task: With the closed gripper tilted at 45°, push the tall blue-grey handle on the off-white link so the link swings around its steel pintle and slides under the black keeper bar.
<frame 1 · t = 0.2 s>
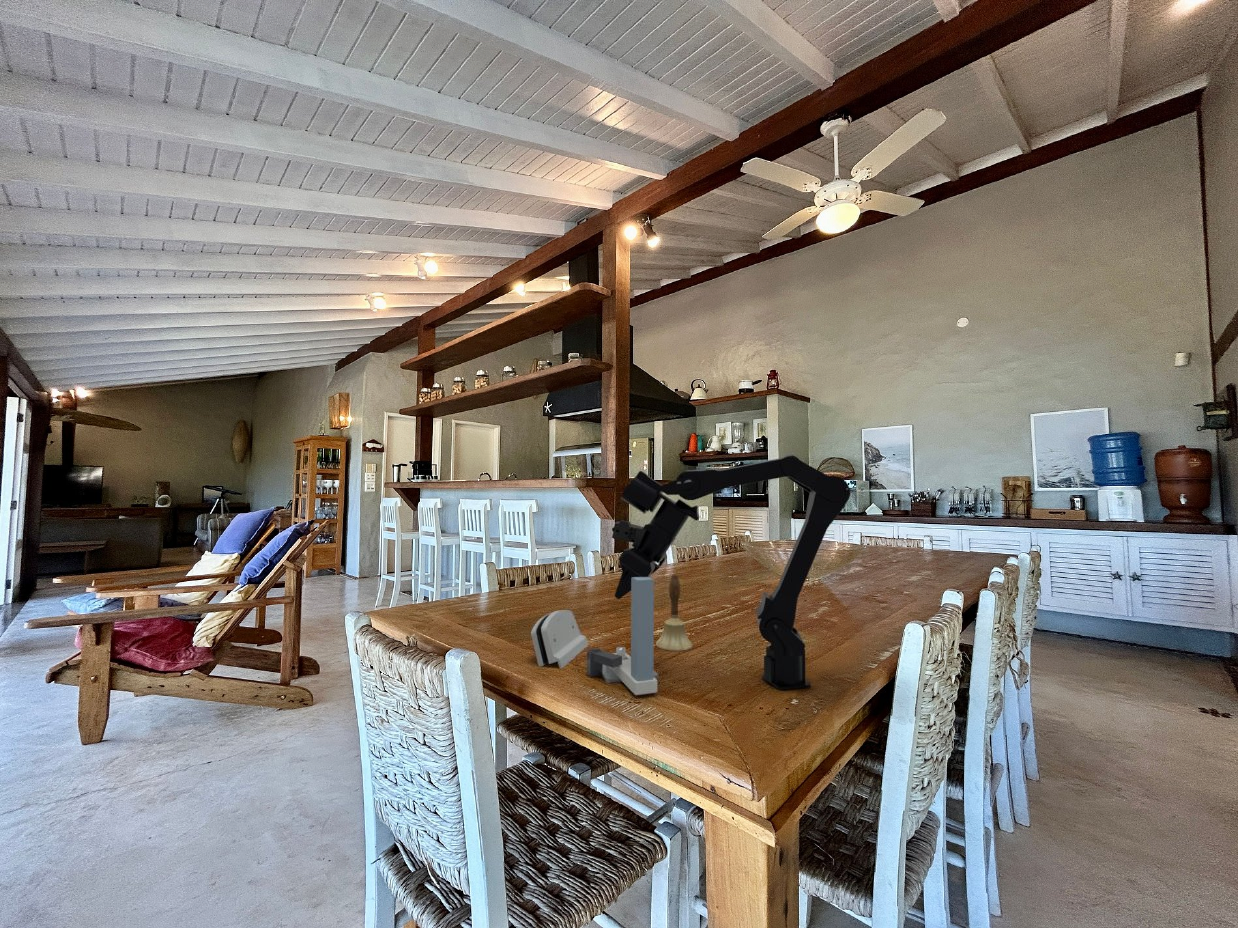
hand: (622, 592, 101), 15 cm above the table, tool tilted 30°, fingers open, 9 cm apart
pintle block: (620, 671, 99), on the table
link: (630, 624, 95), point 10 cm above the table, hinge at 0.0°
hand bell: (674, 646, 116), on the table
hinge: (559, 655, 109), on the table
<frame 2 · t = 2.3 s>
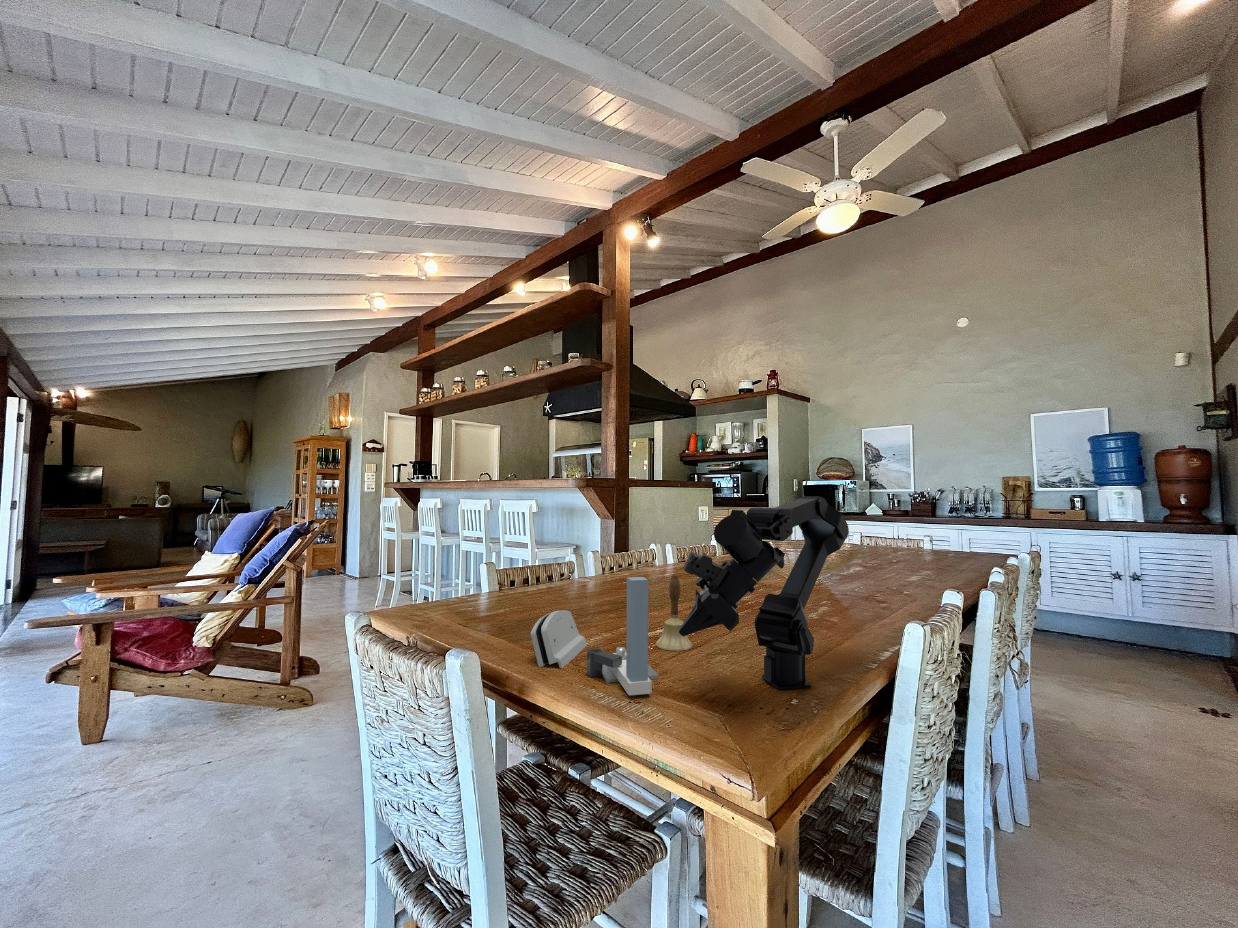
hand: (680, 633, 88), 10 cm above the table, tool tilted 45°, fingers closed
link: (627, 625, 95), point 10 cm above the table, hinge at 4.9°
everything else where it was.
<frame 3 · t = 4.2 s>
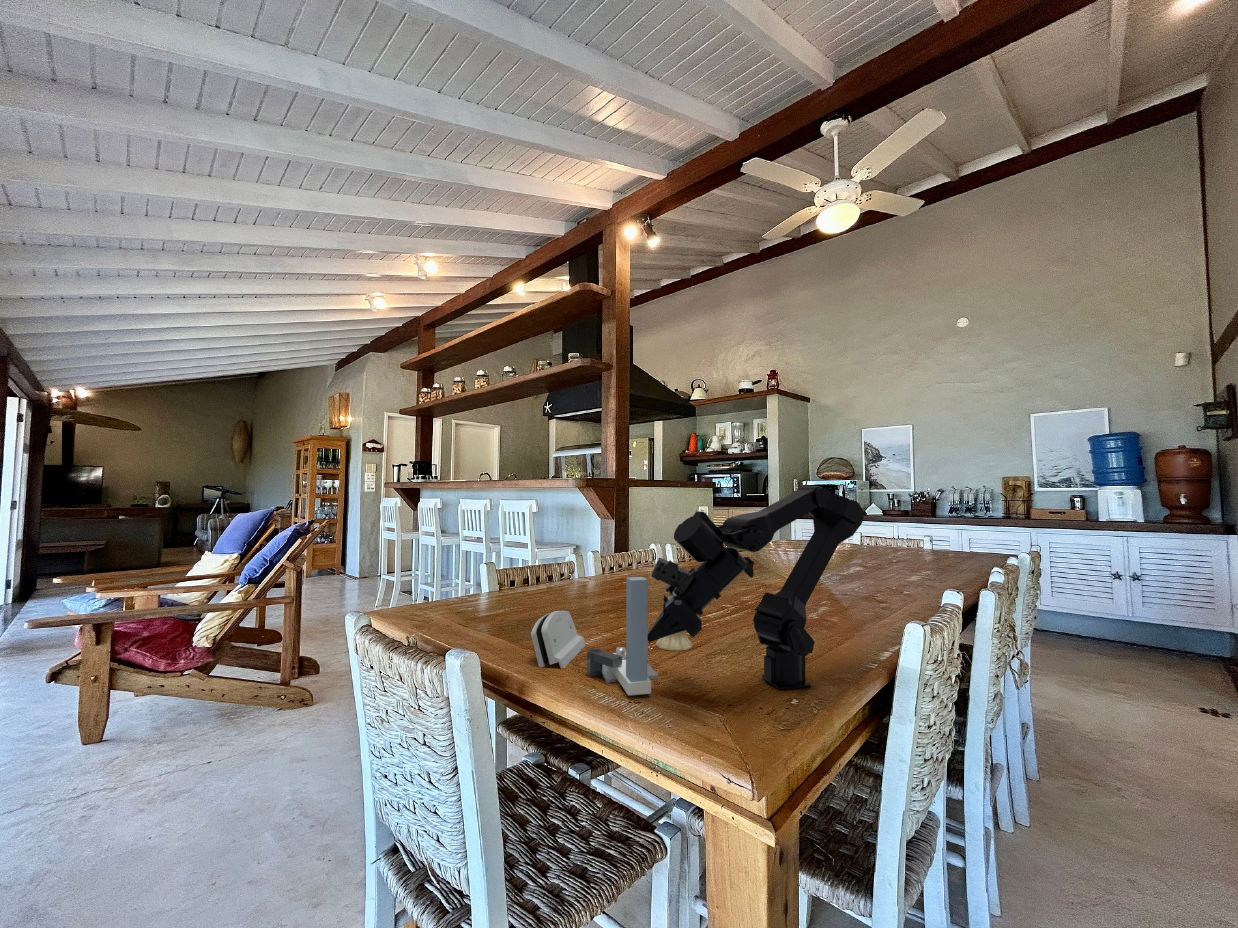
hand: (647, 639, 89), 9 cm above the table, tool tilted 45°, fingers closed
link: (627, 625, 95), point 10 cm above the table, hinge at 5.3°, touching gripper
everything else where it was.
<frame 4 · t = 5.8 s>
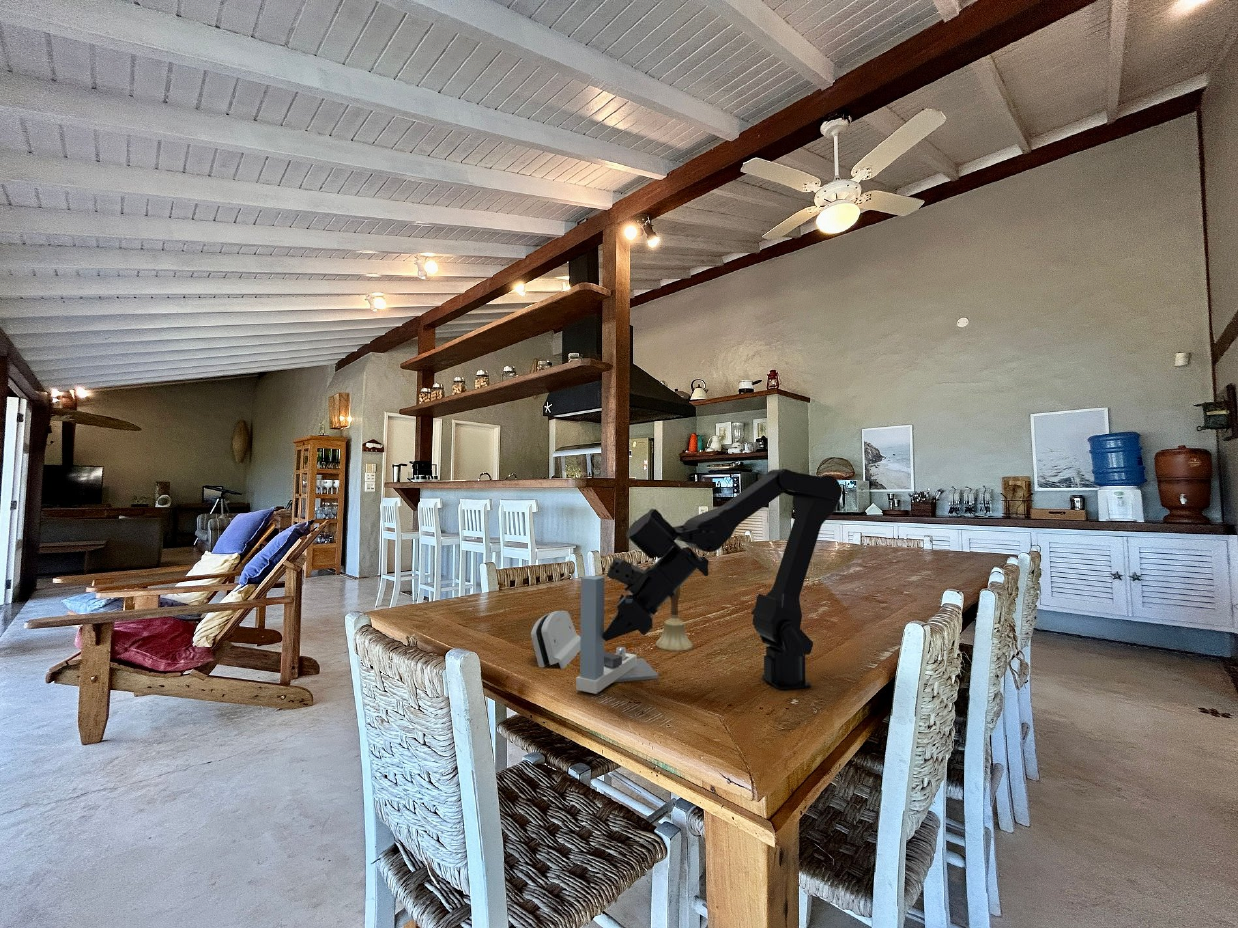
hand: (604, 638, 89), 9 cm above the table, tool tilted 45°, fingers closed
link: (608, 624, 95), point 10 cm above the table, hinge at 46.8°, touching gripper, pintle block
everything else where it was.
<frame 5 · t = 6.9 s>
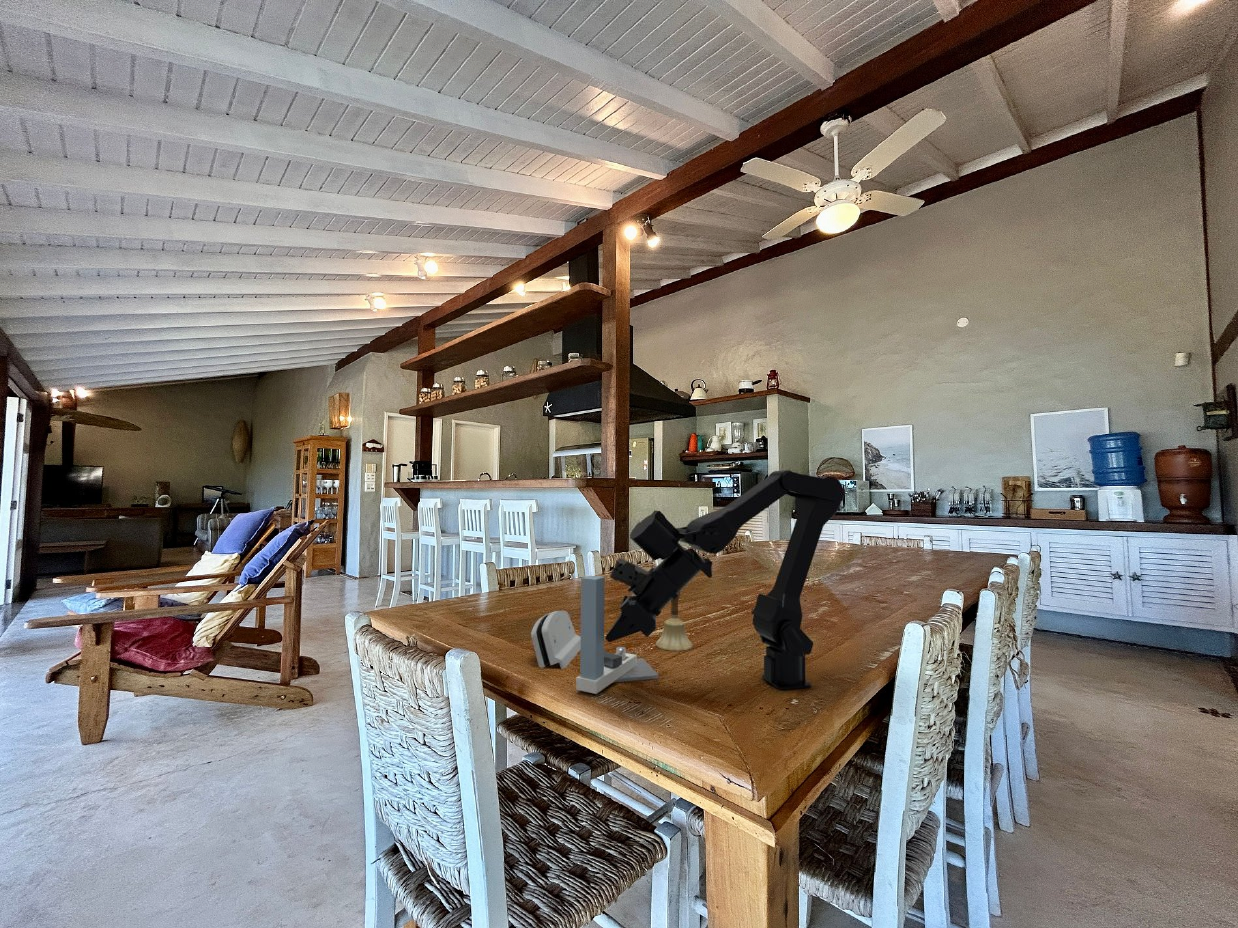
hand: (607, 639, 90), 9 cm above the table, tool tilted 45°, fingers closed
link: (608, 624, 95), point 10 cm above the table, hinge at 46.7°, touching pintle block
everything else where it was.
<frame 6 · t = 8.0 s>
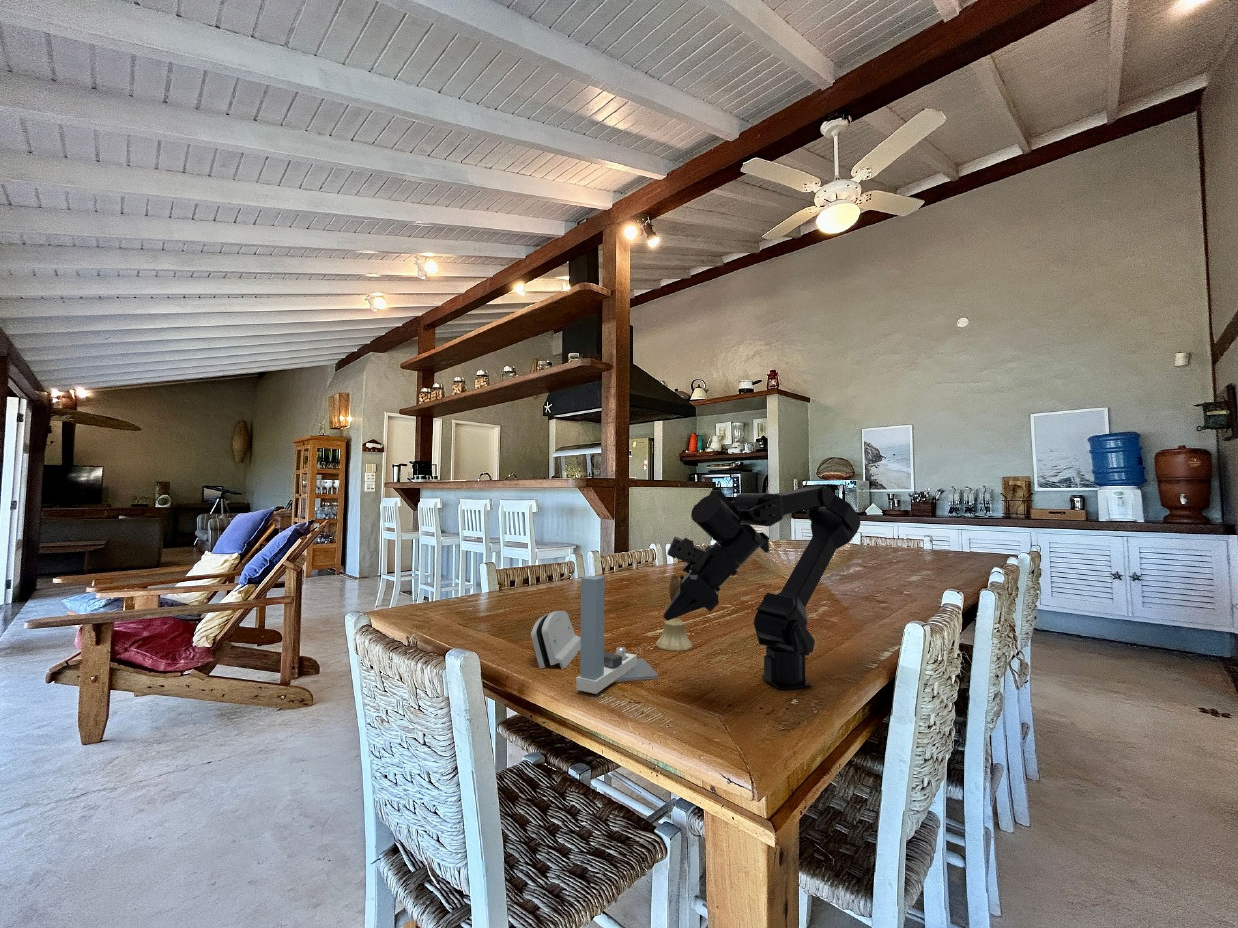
hand: (665, 617, 89), 13 cm above the table, tool tilted 45°, fingers closed
nothing on the table moved.
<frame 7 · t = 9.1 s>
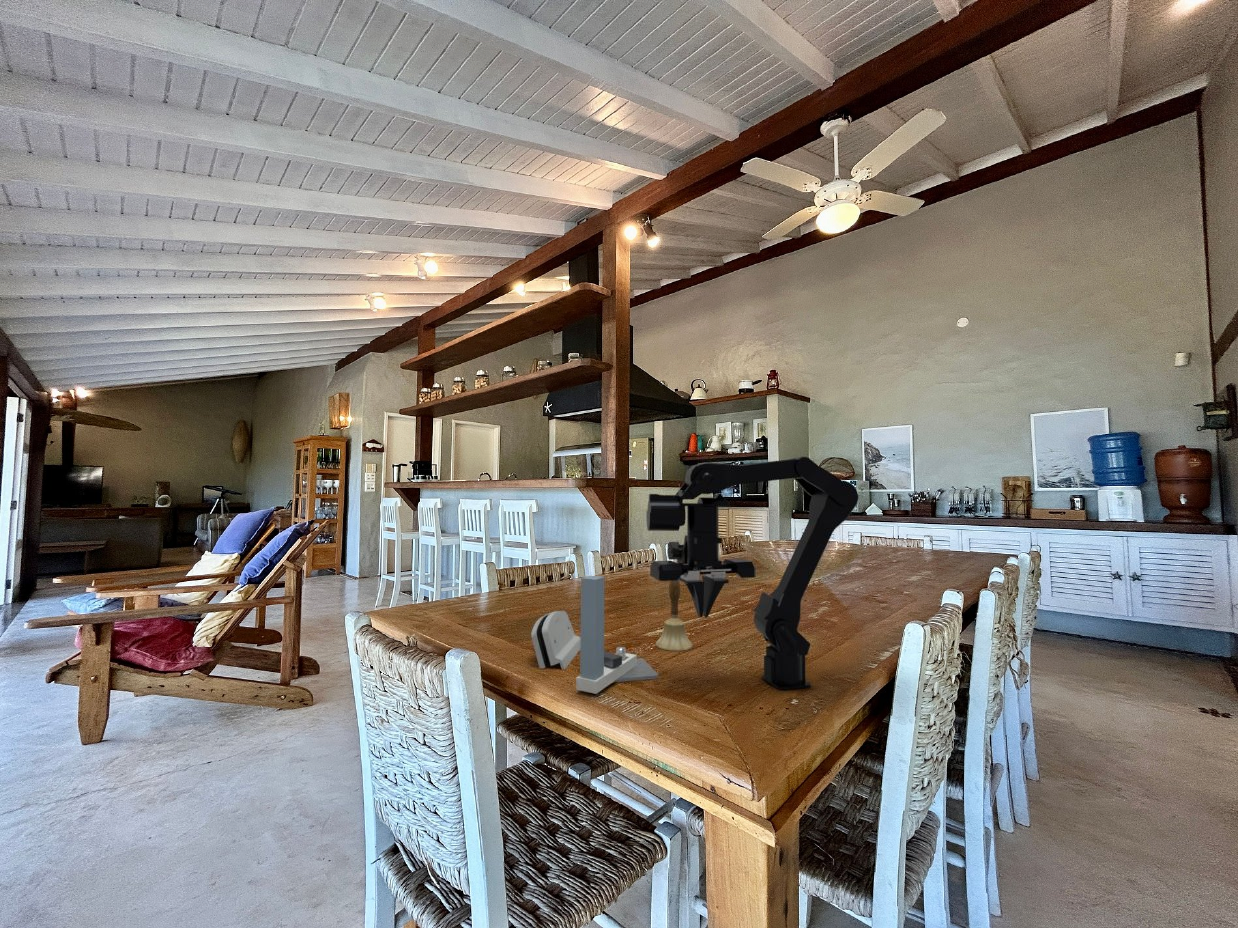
hand: (702, 616, 94), 12 cm above the table, tool pointing down, fingers closed
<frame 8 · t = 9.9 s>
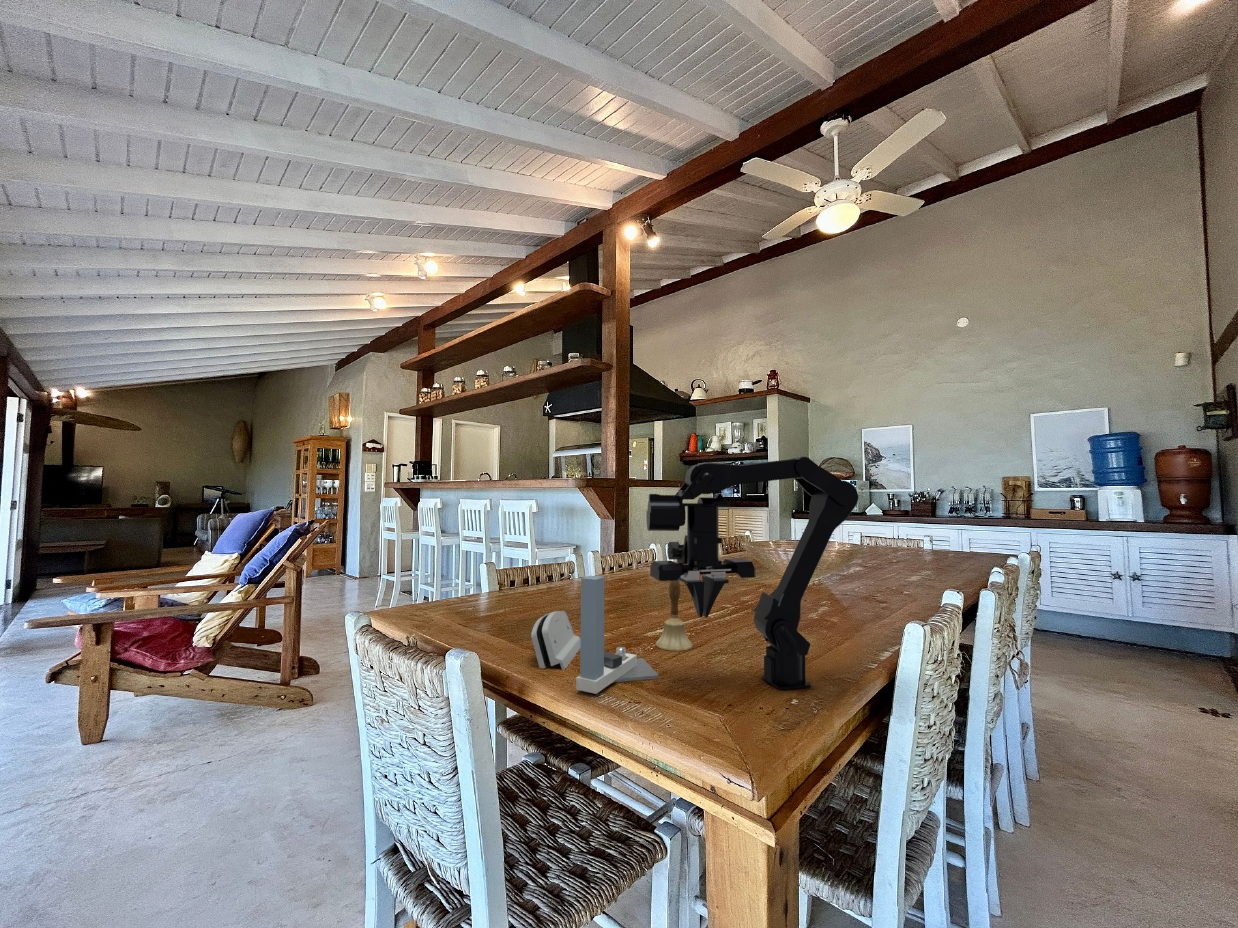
hand: (702, 616, 94), 12 cm above the table, tool pointing down, fingers closed
at the end: link at +47° (first picture: +0°) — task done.
